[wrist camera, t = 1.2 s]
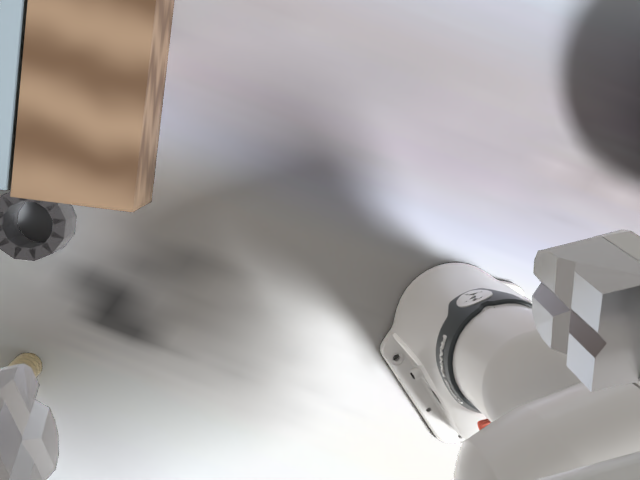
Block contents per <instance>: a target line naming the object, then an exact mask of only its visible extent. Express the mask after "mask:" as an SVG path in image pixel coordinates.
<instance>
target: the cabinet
mask: <svg viewBox="0 0 640 480" xmlns="http://www.w3.org/2000/svg"><path fill="white" fill-rule="evenodd" d="M173 8H174V0H28V3H27V14H26V25H25V36H24V48H23V59H22V70H21V82H20V93H19V104H18V115H17V127H16V138H15V149H14V160H13V172H12V183H11V194H10V197H16V198H24V199H32V200H40V201H48V202H56V203H63V204H71V205H79V206H87V207H95V208H103V209H111V210H119V211H127V212H134V211H136V210H138V209H139V208H141V207H143V206H145V205H146V204H148V203H150V202H151V201H152V192H153V183H154V175H155V166H156V157H157V148H158V139H159V131H160V122H161V113H162V104H163V96H164V87H165V78H166V69H167V60H168V52H169V43H170V34H171V25H172V17H173Z"/></svg>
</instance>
